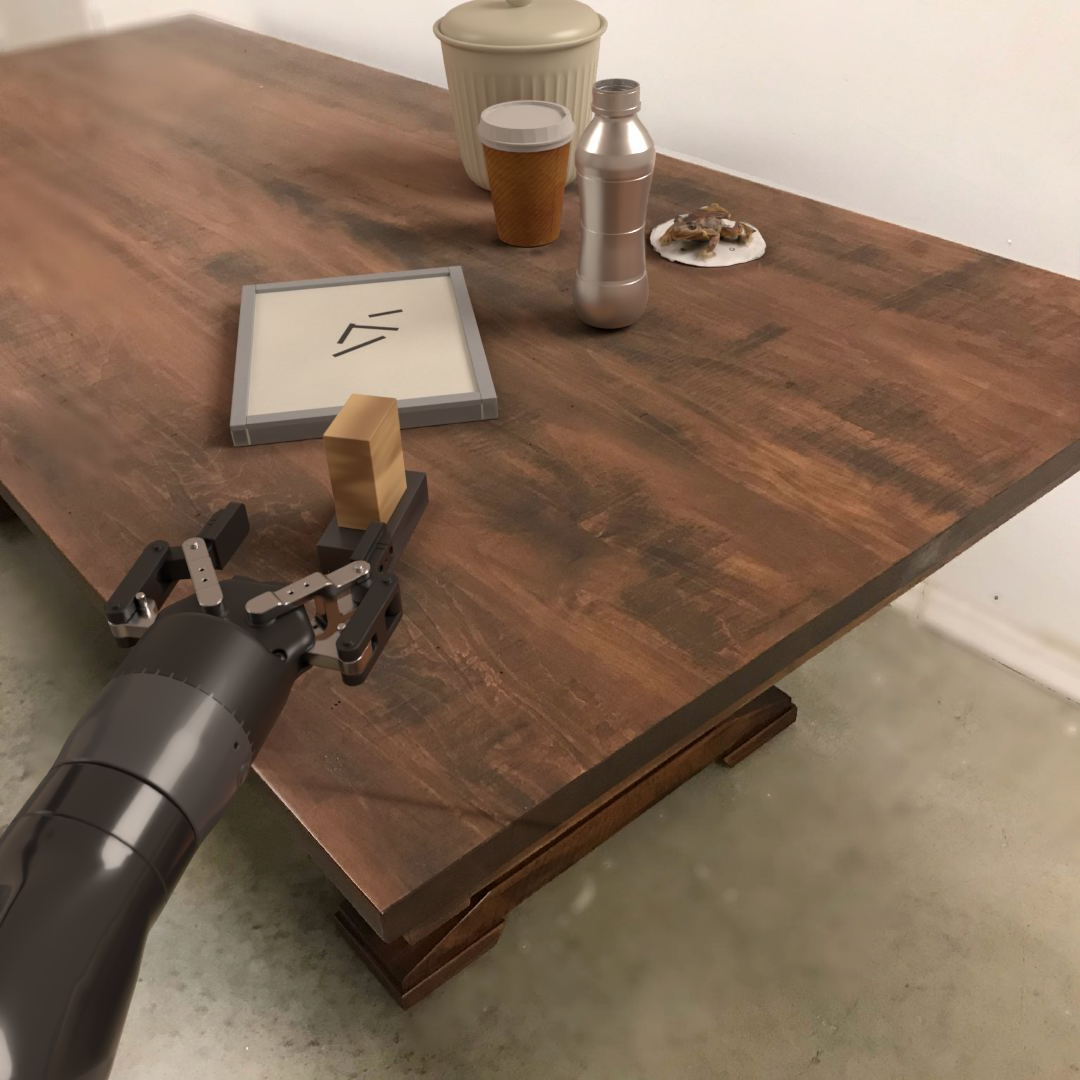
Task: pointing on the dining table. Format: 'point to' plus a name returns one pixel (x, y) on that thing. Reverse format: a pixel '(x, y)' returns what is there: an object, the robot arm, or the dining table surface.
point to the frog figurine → (707, 239)
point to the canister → (518, 64)
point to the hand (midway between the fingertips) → (310, 523)
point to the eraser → (368, 480)
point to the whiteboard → (357, 353)
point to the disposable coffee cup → (527, 167)
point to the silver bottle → (613, 207)
